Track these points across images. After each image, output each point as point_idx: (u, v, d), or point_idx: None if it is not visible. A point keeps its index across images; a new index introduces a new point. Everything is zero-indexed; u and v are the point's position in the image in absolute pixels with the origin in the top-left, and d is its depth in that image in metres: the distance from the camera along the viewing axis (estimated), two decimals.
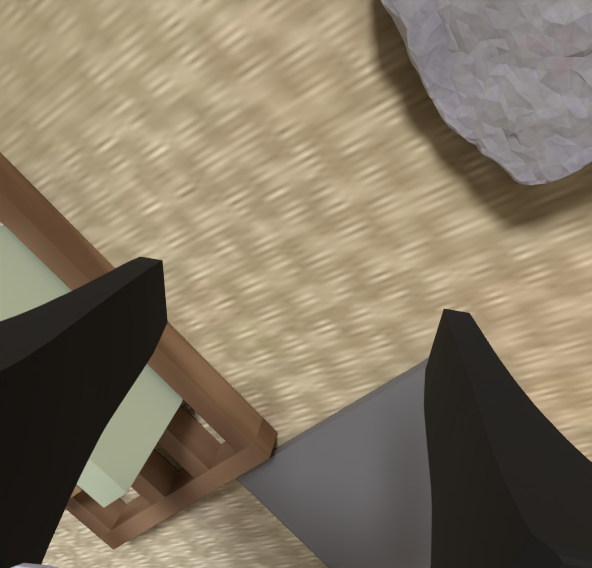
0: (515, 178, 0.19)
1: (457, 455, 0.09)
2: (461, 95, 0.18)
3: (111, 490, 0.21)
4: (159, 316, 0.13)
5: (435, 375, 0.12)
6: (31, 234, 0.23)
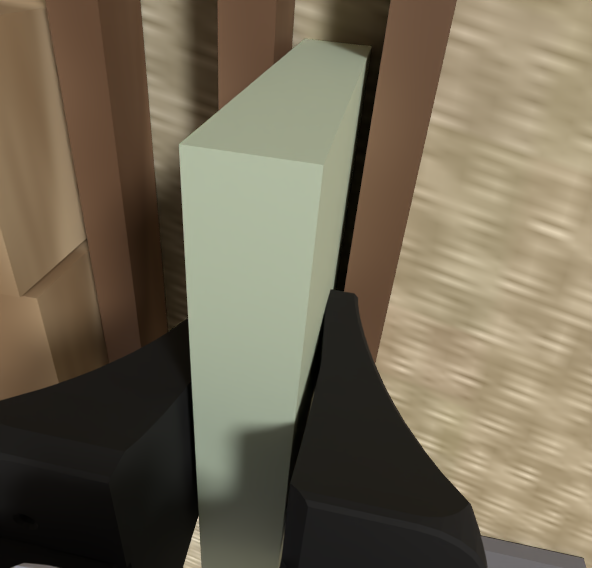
0: None
1: None
2: None
3: None
4: None
5: None
6: (403, 129, 0.11)
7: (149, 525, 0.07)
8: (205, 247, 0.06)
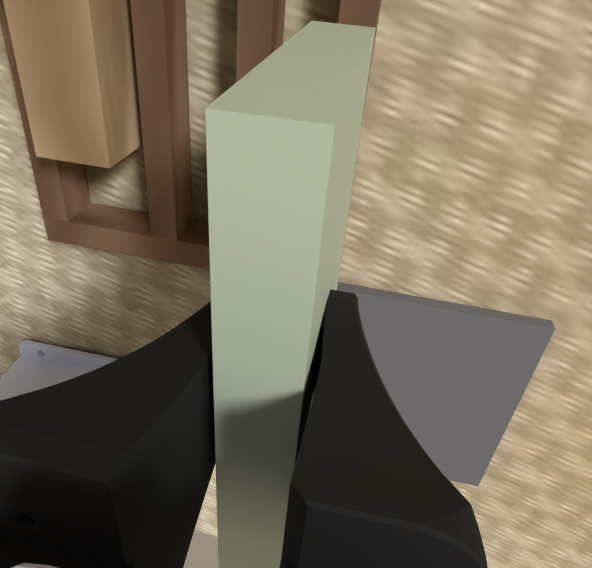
0: None
1: None
2: None
3: None
4: None
5: None
6: None
7: (149, 525, 0.07)
8: (227, 204, 0.07)
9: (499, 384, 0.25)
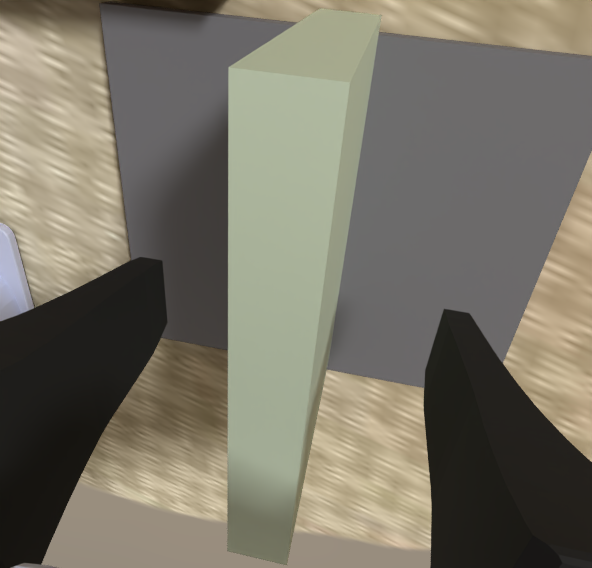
0: None
1: (457, 455, 0.09)
2: None
3: (269, 552, 0.13)
4: (159, 316, 0.13)
5: (435, 375, 0.12)
6: None
7: None
8: (246, 162, 0.07)
9: (523, 199, 0.15)
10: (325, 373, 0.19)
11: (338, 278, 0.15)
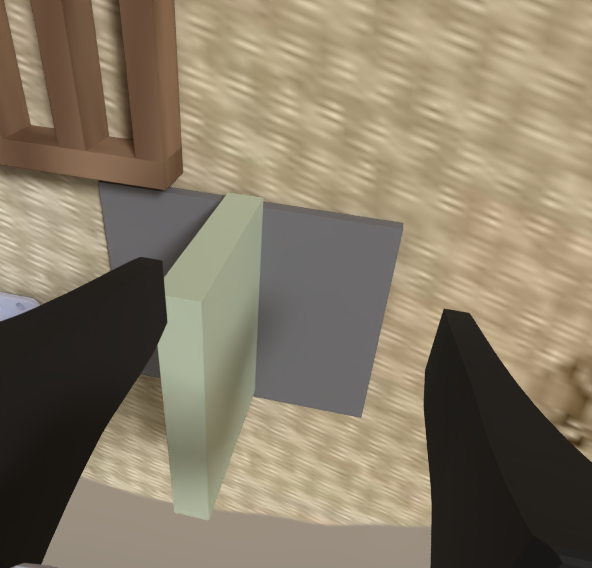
0: None
1: (457, 455, 0.09)
2: None
3: (197, 512, 0.22)
4: (159, 316, 0.13)
5: (435, 375, 0.12)
6: None
7: None
8: None
9: (360, 297, 0.24)
10: (249, 400, 0.28)
11: (246, 346, 0.24)
